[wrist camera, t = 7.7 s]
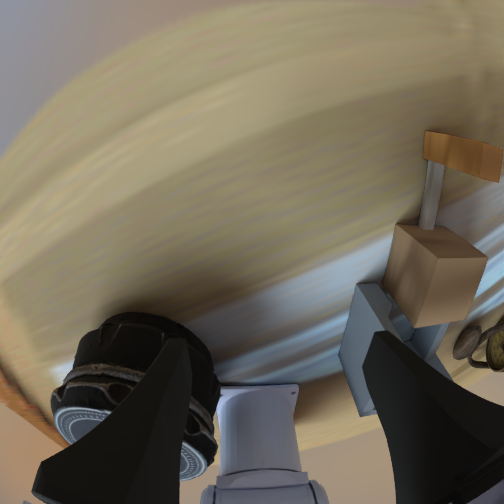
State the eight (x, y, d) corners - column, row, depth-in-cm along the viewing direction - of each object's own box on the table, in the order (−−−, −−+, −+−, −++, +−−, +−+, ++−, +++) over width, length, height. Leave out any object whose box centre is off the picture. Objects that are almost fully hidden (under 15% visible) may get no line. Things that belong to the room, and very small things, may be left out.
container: (76, 290, 20) (16, 377, 11) (231, 315, 22) (229, 430, 13) (99, 386, 26) (73, 461, 17) (216, 407, 27) (213, 491, 18)
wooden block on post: (430, 281, 21) (468, 323, 16) (382, 284, 21) (417, 333, 16) (458, 140, 16) (515, 154, 11) (408, 126, 16) (466, 136, 10)
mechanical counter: (494, 395, 24) (548, 350, 19) (462, 399, 20) (537, 339, 15) (477, 354, 30) (526, 309, 24) (441, 345, 26) (505, 285, 20)
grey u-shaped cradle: (422, 343, 25) (453, 391, 18) (338, 355, 24) (360, 417, 18) (448, 278, 21) (493, 325, 15) (356, 283, 21) (394, 345, 15)
